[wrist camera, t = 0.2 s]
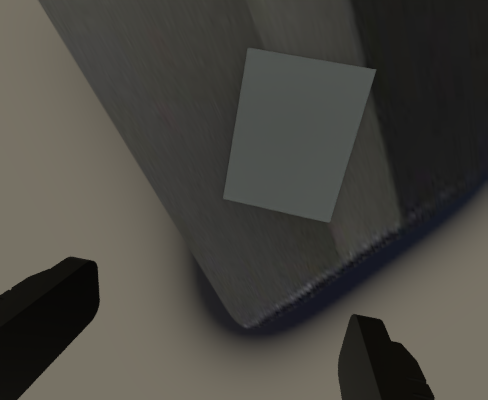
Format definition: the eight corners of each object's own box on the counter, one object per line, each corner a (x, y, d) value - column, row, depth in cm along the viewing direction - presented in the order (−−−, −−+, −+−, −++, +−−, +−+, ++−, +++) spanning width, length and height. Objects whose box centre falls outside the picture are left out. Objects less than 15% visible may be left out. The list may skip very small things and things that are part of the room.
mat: (249, 49, 33) (247, 47, 32) (373, 70, 31) (376, 69, 30) (224, 196, 38) (222, 198, 38) (328, 220, 37) (329, 222, 36)
